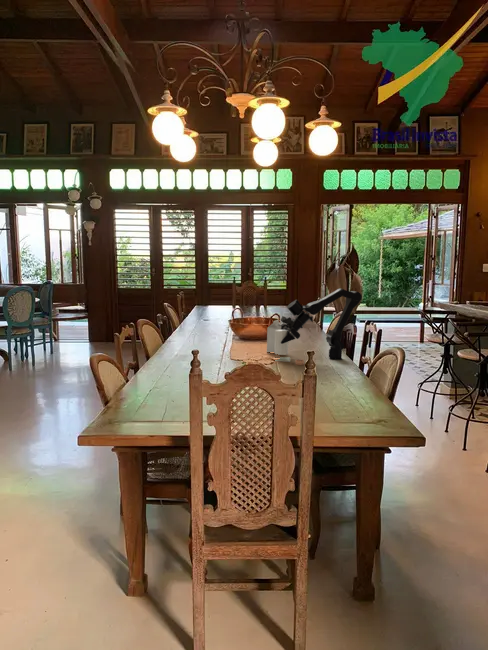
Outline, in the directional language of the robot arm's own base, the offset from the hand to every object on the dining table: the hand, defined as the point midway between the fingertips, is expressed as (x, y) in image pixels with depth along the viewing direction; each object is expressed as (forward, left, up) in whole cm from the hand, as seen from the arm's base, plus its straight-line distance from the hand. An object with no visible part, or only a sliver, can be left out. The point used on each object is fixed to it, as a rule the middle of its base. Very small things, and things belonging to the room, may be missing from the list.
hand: (279, 341), depth 264 cm
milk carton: (+3, -16, -10) cm, 19 cm away
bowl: (-11, +9, -10) cm, 17 cm away
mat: (-1, 0, -10) cm, 10 cm away
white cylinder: (-1, 0, -6) cm, 7 cm away
